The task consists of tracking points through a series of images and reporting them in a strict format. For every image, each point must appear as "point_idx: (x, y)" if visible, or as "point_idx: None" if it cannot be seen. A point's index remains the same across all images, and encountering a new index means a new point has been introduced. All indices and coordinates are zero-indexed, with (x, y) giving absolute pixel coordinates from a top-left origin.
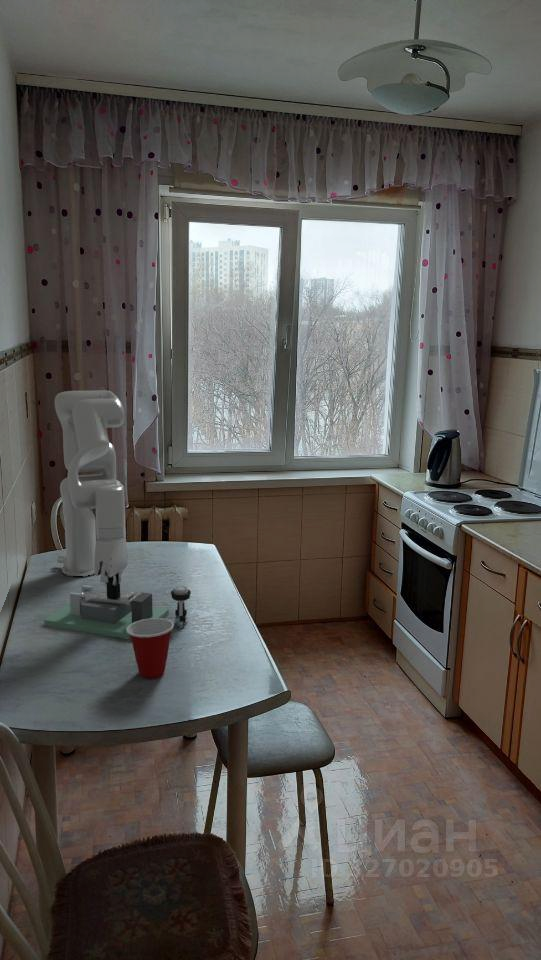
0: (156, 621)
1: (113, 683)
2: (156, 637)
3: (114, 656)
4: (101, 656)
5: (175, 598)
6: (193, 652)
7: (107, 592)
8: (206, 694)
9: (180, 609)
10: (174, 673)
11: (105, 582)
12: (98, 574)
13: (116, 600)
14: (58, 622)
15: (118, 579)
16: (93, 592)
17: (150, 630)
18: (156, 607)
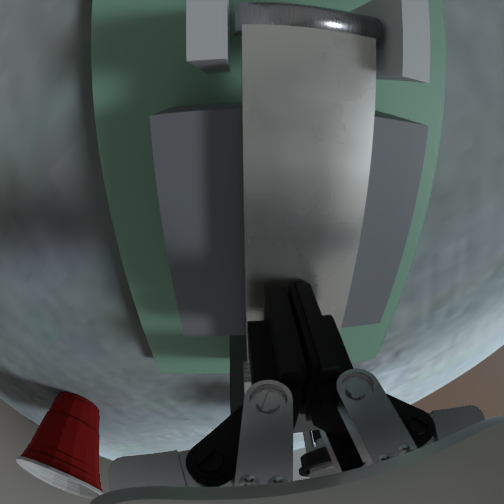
0: (92, 485)
1: (16, 367)
2: (51, 478)
3: (64, 342)
4: (42, 318)
5: (301, 461)
6: (184, 430)
7: (269, 316)
8: None
9: (303, 432)
10: (105, 423)
11: (243, 408)
12: (180, 489)
13: (247, 342)
14: (92, 34)
15: (324, 442)
16: (356, 112)
17: (81, 464)
18: (386, 328)
